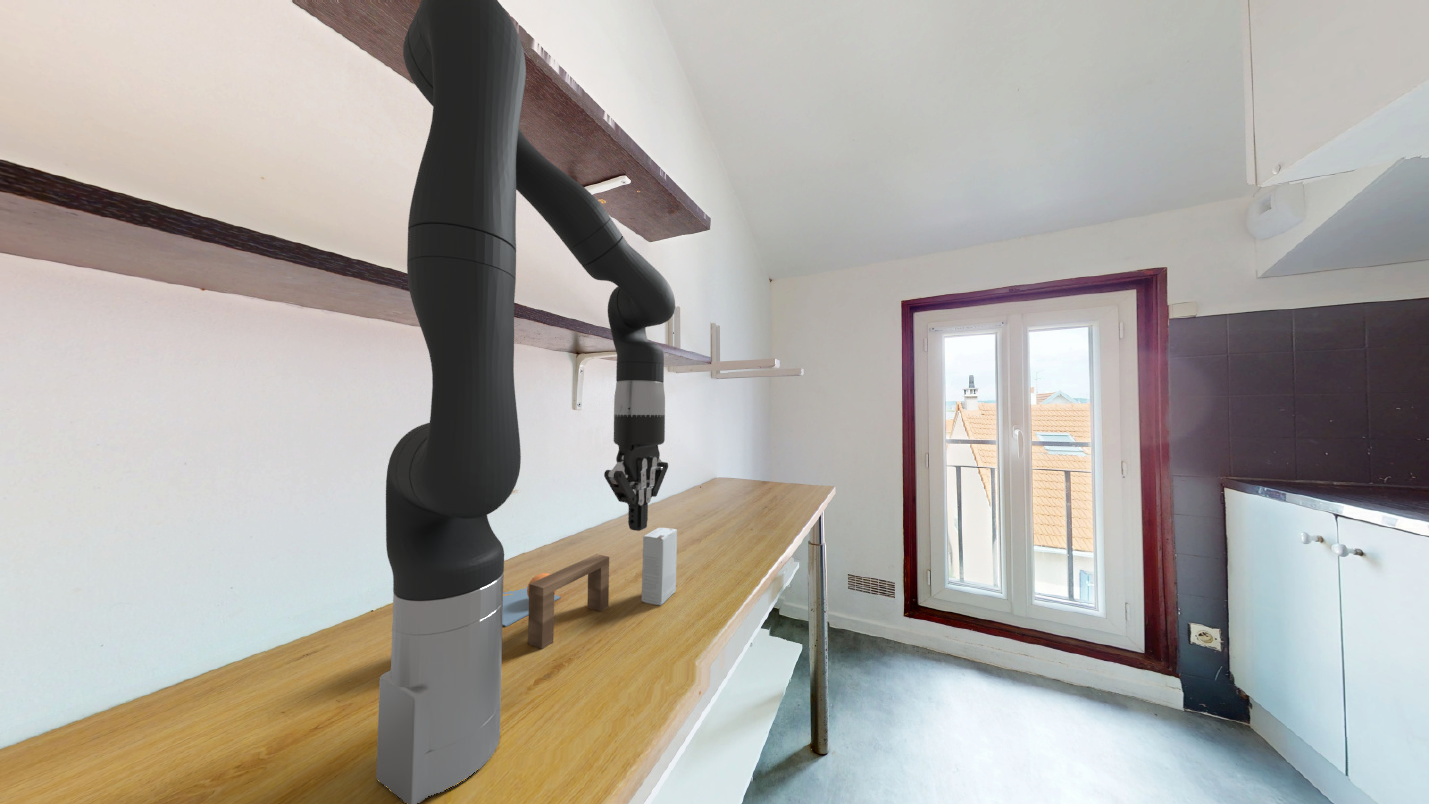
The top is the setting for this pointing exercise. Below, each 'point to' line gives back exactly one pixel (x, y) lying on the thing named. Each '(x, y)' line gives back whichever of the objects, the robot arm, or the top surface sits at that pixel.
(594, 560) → the bridge
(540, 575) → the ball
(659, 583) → the skincare box
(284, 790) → the top surface
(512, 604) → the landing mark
